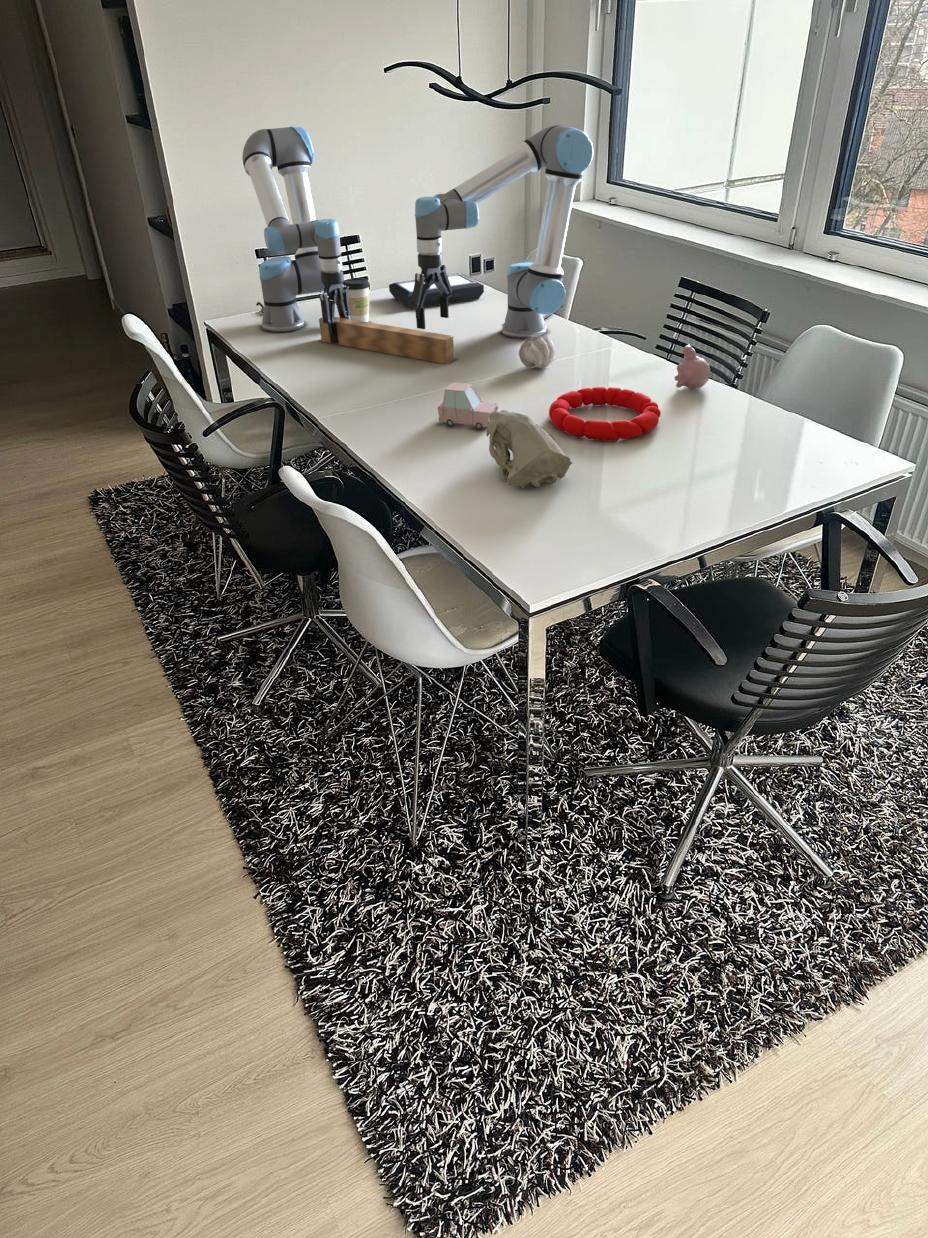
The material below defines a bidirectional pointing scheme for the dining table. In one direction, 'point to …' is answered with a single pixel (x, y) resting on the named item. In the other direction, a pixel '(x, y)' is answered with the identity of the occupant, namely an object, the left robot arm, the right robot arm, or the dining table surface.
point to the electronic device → (459, 283)
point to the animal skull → (525, 450)
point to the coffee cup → (358, 298)
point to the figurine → (692, 370)
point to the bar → (391, 340)
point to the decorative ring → (604, 428)
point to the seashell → (536, 351)
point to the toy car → (465, 406)
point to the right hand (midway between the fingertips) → (433, 322)
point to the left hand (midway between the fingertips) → (339, 340)
